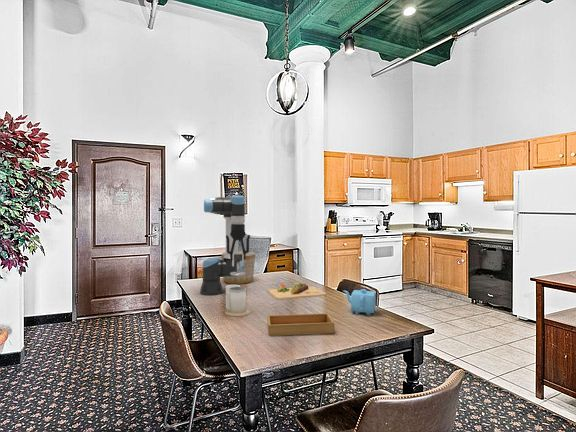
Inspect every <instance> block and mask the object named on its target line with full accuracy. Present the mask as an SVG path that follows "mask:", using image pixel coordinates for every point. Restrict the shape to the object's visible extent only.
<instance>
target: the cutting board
mask: <svg viewBox="0 0 576 432" xmlns="http://www.w3.org/2000/svg"><path fill="white" fill-rule="evenodd" d="M293 285H294V286H293V287H286V285H284V284H283V283H281V284H280V285H279V287H278V288H272V289H268V290H267V293H268V294H270V295H271V296H272V297H274V298H275V299H276V300H291V299H292V300H293V299H303V298H315V297H316V298H317V297H324V296H325V297H326V296H327V295H328V294H327V292H326V291H324V290H321V289H319V288H318V287H316V286H309V285H308V284H305V283H302V282H299V283H298V284H297V283H294V284H293Z"/></svg>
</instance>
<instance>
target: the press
mask: <svg viewBox="0 0 576 432" xmlns="http://www.w3.org/2000/svg"><path fill="white" fill-rule="evenodd" d="M229 291H230V293H226V292H225V309H226V310H225V311H224V314H225V315H226V316H228V317H229V316H230V317H244V316H248V315H250V314H251V310H250V309H249V308H247V287H244V286H240V287H232V288H229Z"/></svg>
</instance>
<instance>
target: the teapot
mask: <svg viewBox="0 0 576 432" xmlns="http://www.w3.org/2000/svg"><path fill="white" fill-rule="evenodd" d="M343 292H344V293H345V294H346V298H347V301H348V302H349V304H350V311H351V312H354V314H355V315H359V314H360V313H365V315H367V316H372V314H375V311H376V301H377V299H376V296H377V293H376V291H372V290H371V291H369V290H367V289H365V288H363V289H362V288H361V289H360V290H359V289H354V290H353V291H352V292H351V294H350V292H349V291H347V290H343Z"/></svg>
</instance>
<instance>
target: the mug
mask: <svg viewBox="0 0 576 432" xmlns="http://www.w3.org/2000/svg"><path fill="white" fill-rule="evenodd" d="M232 287H241V284H228V285H225V294H226V293H230V291H229V288H232Z"/></svg>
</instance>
